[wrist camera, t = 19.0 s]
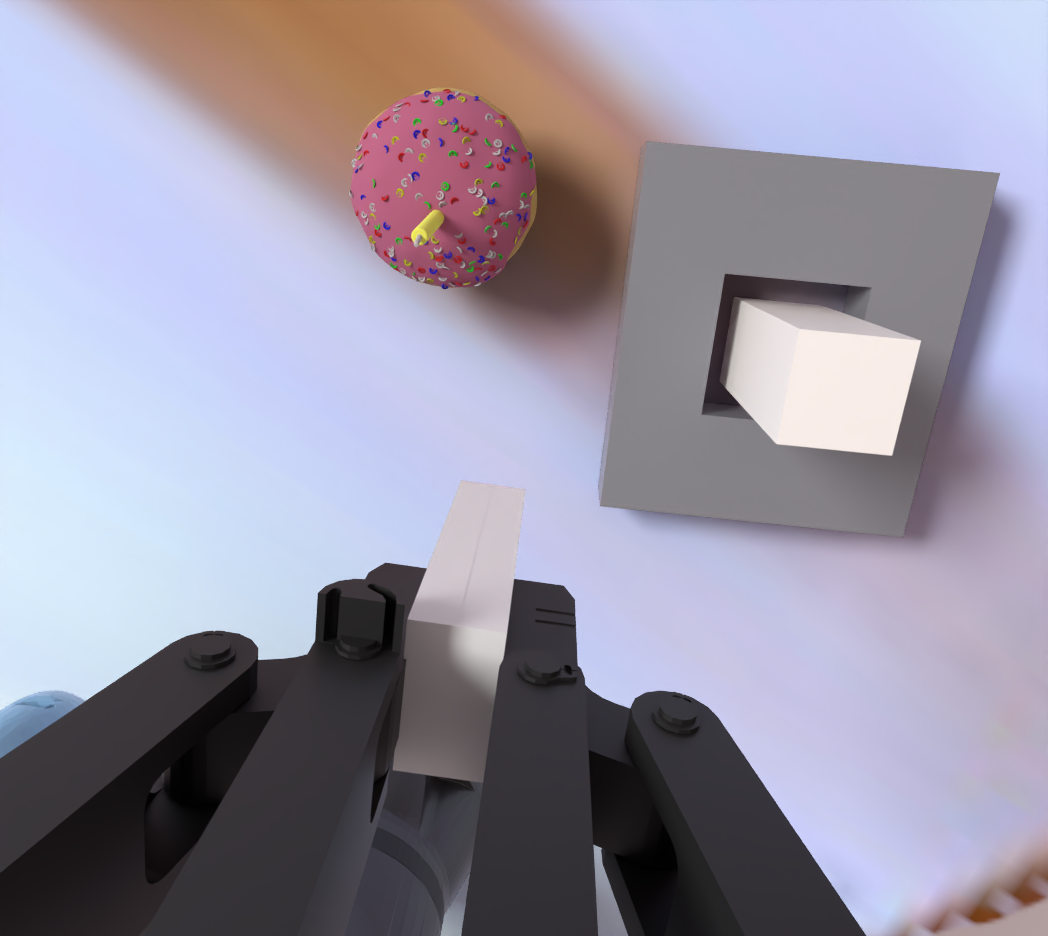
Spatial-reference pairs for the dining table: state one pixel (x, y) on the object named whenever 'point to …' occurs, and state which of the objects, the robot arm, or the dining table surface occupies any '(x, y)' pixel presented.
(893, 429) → the plug
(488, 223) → the cupcake
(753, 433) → the socket
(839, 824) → the dining table surface
